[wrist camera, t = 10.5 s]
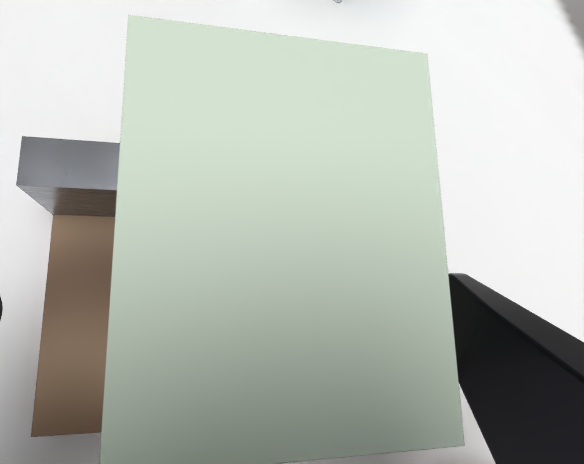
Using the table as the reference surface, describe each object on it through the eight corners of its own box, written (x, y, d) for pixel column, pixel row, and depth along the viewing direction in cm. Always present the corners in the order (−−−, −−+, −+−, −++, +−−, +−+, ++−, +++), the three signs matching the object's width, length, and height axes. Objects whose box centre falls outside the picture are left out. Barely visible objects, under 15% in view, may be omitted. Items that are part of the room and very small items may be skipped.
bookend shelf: (358, 406, 18) (418, 436, 13) (45, 426, 16) (-18, 471, 11) (349, 201, 20) (398, 163, 15) (68, 187, 17) (22, 136, 13)
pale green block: (265, 357, 16) (464, 445, 4) (168, 361, 16) (98, 480, 4) (264, 240, 17) (427, 53, 5) (173, 238, 16) (128, 15, 5)
